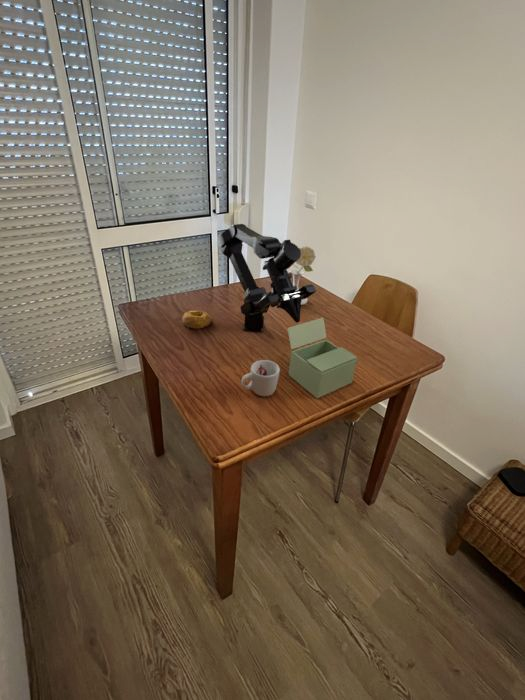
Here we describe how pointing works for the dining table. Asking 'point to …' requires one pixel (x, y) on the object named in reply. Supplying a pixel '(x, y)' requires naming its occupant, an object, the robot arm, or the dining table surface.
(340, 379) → the carton
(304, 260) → the flower in vase
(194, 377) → the dining table surface
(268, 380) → the cup
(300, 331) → the flap
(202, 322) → the bagel
